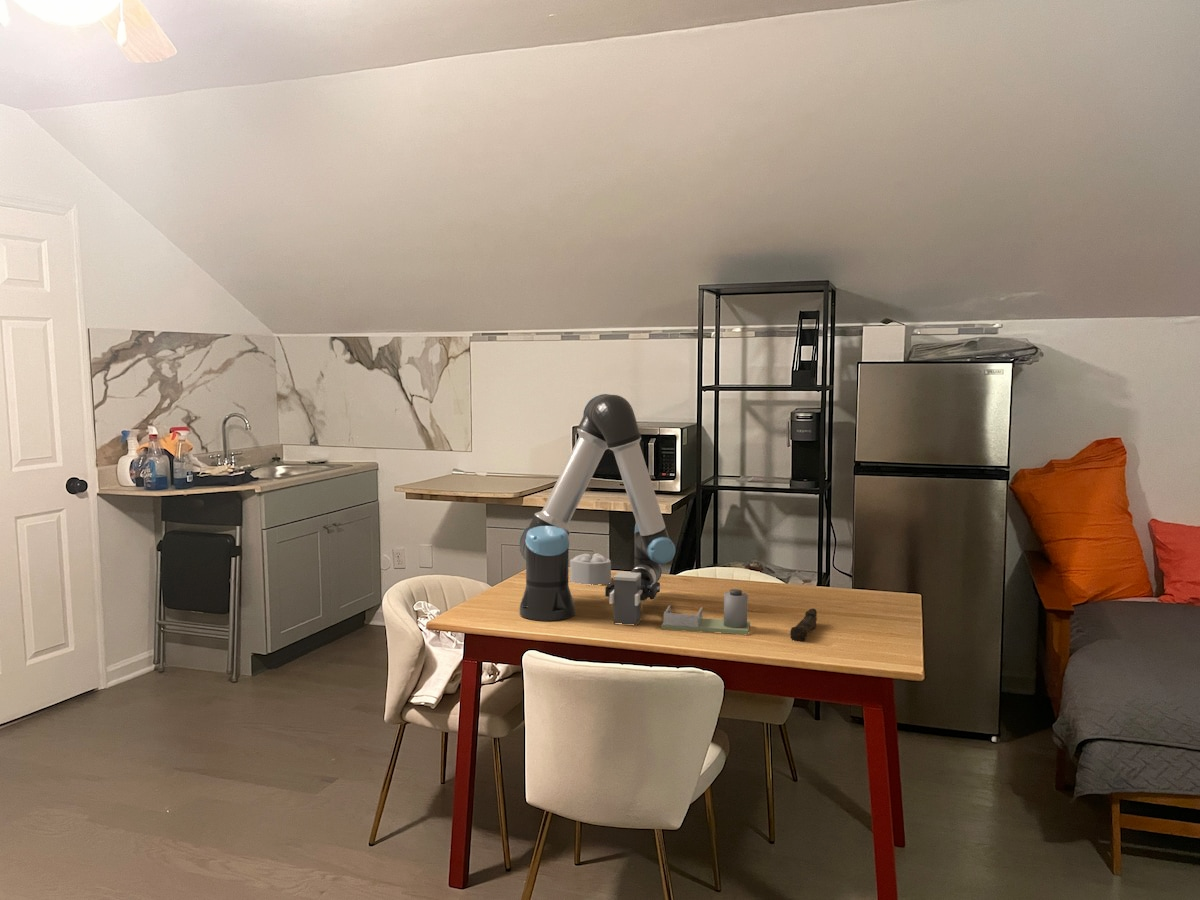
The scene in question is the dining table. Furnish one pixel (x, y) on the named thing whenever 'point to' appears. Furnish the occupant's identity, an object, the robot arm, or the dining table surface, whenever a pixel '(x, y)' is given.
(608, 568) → the lumpy-topped squat cylinder
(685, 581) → the dining table surface
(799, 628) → the hand tool
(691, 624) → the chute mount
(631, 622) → the grey block
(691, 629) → the desk organizer stand
